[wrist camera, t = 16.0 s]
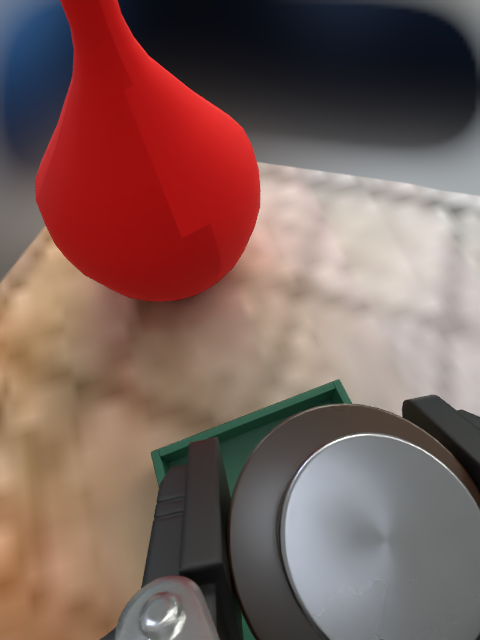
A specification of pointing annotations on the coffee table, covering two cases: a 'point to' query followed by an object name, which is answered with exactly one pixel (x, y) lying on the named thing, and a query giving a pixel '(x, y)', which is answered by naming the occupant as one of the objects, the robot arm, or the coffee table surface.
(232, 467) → the tray
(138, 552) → the coffee table surface
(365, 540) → the pepper mill
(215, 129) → the vase
